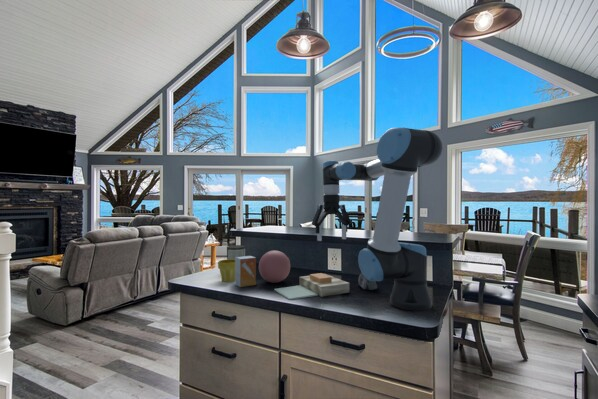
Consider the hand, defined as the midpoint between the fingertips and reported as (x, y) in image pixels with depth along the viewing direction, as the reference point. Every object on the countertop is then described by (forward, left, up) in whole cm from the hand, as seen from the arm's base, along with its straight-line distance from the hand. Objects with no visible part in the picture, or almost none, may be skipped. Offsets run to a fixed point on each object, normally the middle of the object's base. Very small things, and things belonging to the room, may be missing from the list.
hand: (332, 240), depth 150 cm
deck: (-3, +6, -21) cm, 22 cm away
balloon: (+19, +19, -21) cm, 35 cm away
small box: (+20, +35, -21) cm, 46 cm away
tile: (-3, +8, -17) cm, 19 cm away
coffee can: (+51, +31, -21) cm, 64 cm away
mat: (-3, +20, -21) cm, 30 cm away
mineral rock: (-9, -14, -22) cm, 27 cm away
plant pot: (+32, +40, -21) cm, 56 cm away
